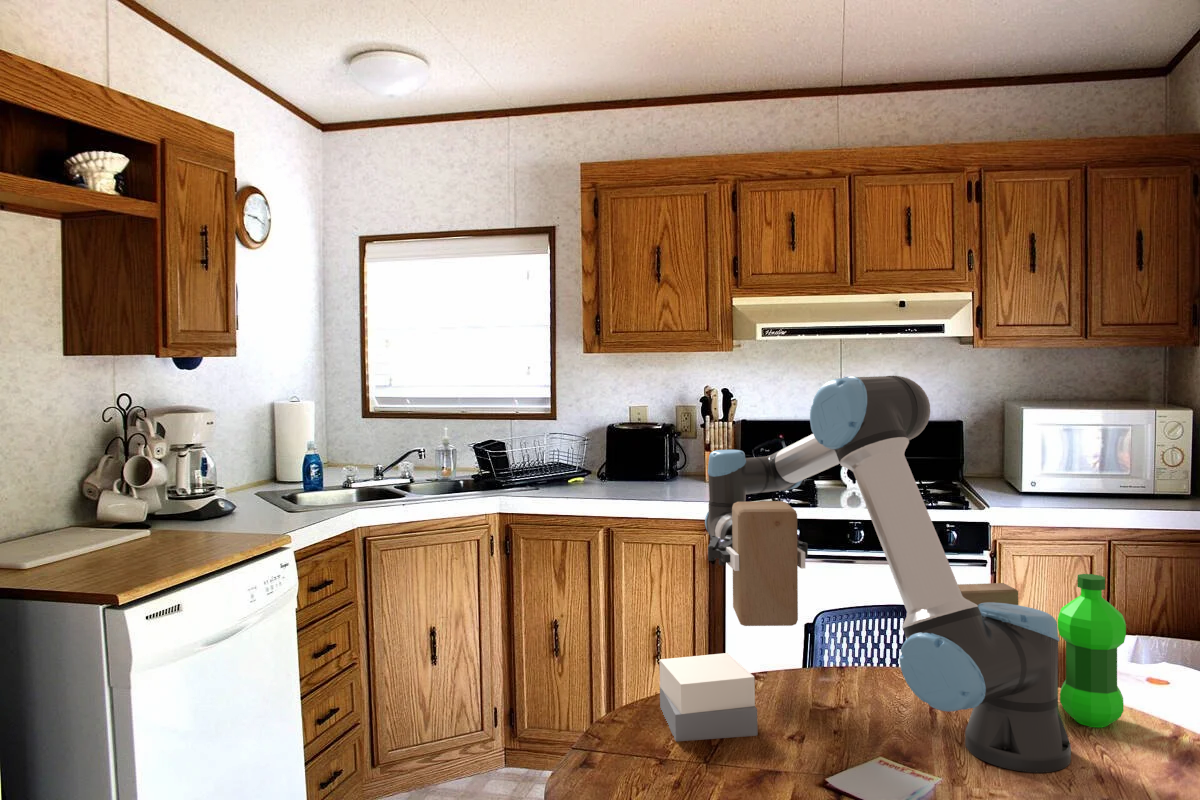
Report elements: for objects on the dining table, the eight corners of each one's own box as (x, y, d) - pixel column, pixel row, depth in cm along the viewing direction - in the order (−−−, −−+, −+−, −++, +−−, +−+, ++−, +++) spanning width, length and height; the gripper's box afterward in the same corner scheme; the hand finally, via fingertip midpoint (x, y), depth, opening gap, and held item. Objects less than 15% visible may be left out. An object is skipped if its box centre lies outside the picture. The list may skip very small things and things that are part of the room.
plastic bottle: (1115, 739, 141) (1115, 587, 140) (1047, 720, 149) (1046, 576, 148) (1135, 721, 148) (1135, 576, 147) (1069, 704, 156) (1069, 567, 155)
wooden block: (799, 627, 146) (798, 509, 145) (739, 627, 147) (738, 510, 146) (788, 610, 156) (787, 500, 155) (732, 610, 157) (731, 500, 156)
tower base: (757, 738, 146) (757, 709, 146) (675, 744, 144) (675, 714, 144) (734, 706, 160) (734, 679, 160) (660, 711, 158) (659, 684, 158)
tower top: (754, 706, 147) (754, 677, 147) (681, 714, 144) (680, 684, 144) (728, 679, 160) (727, 653, 159) (660, 686, 157) (659, 659, 157)
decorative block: (960, 699, 159) (960, 591, 159) (947, 687, 165) (946, 584, 164) (1020, 697, 160) (1019, 590, 159) (1005, 686, 165) (1004, 582, 165)
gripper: (796, 552, 170) (836, 581, 148) (679, 557, 168) (702, 586, 146) (796, 514, 170) (836, 537, 148) (679, 518, 168) (702, 542, 146)
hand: (770, 561), depth 147 cm, fingers closed on wooden block, 11 cm apart
